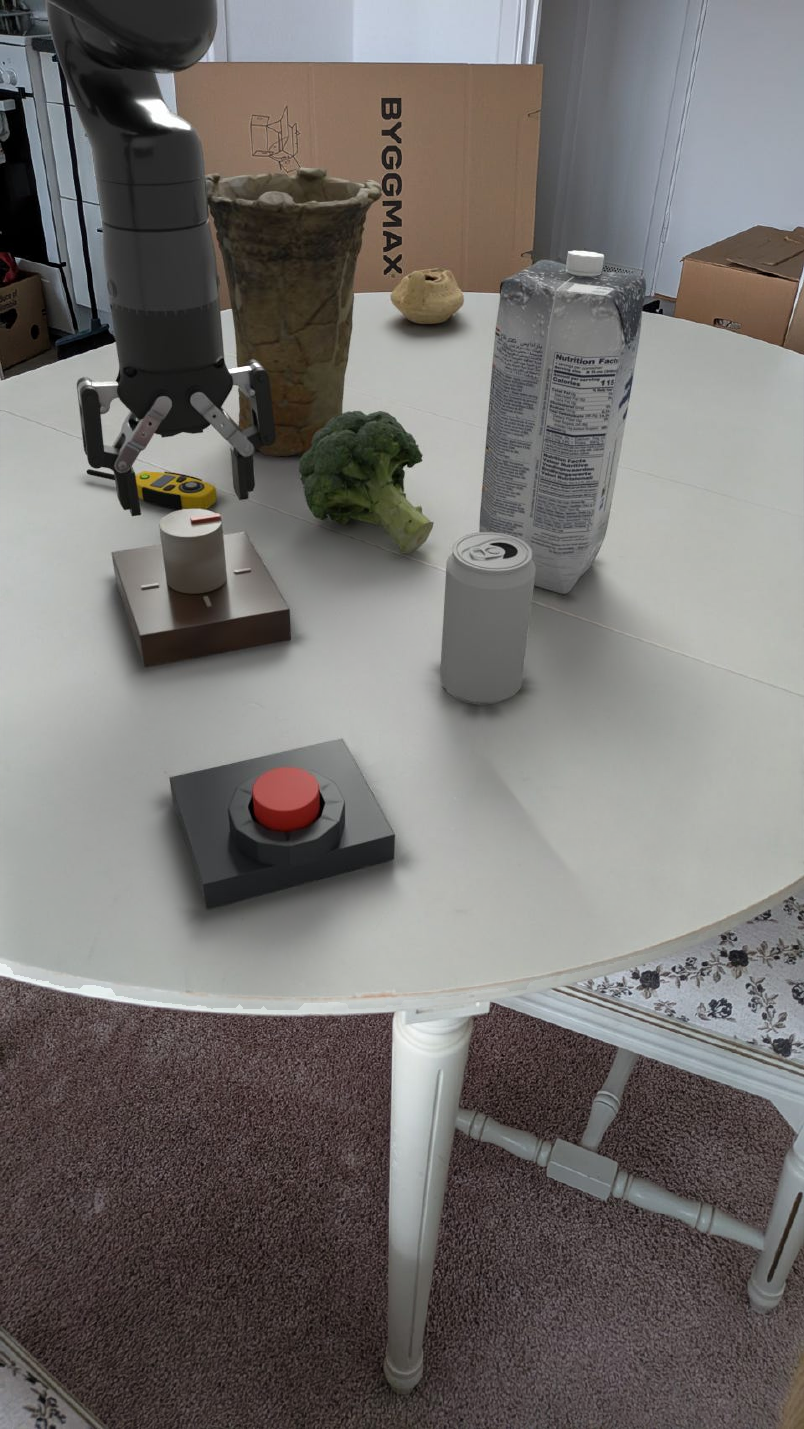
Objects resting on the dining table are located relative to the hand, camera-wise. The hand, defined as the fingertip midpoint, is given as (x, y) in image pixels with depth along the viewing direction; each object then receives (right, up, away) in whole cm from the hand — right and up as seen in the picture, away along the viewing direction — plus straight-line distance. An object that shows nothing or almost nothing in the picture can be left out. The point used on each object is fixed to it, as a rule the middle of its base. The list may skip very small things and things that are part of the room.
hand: (188, 503), depth 79 cm
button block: (+9, -24, -15) cm, 30 cm away
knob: (0, -5, +4) cm, 7 cm away
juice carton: (+30, -3, +13) cm, 33 cm away
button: (+10, -23, -18) cm, 31 cm away
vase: (+5, +16, +37) cm, 40 cm away
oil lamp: (+21, +44, +73) cm, 88 cm away
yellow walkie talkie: (-9, +6, +24) cm, 26 cm away
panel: (0, -8, +6) cm, 10 cm away
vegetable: (+14, +1, +19) cm, 23 cm away
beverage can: (+23, -15, -1) cm, 27 cm away
